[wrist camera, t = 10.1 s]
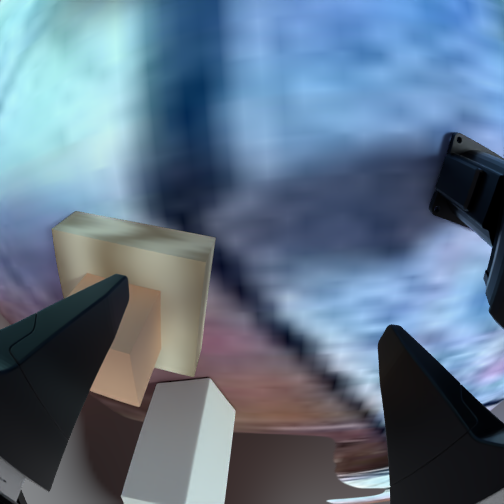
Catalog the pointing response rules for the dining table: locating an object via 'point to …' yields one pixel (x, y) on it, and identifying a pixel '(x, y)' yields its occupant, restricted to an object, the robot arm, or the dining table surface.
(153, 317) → the tan cube
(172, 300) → the birch block
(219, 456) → the milk carton
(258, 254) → the dining table surface
